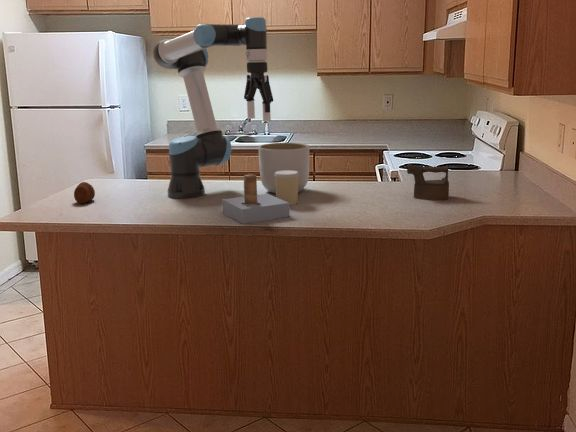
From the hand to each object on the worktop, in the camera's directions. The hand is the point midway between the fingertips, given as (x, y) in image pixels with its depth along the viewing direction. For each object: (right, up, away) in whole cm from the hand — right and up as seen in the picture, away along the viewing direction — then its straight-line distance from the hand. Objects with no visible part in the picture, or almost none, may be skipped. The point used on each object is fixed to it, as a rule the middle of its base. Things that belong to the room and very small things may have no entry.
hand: (258, 120), depth 238 cm
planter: (+10, -26, +27) cm, 38 cm away
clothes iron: (+66, -29, +10) cm, 73 cm away
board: (-1, -35, -10) cm, 37 cm away
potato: (-70, -31, +16) cm, 78 cm away
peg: (-2, -36, -14) cm, 39 cm away
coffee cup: (+11, -31, +6) cm, 33 cm away
